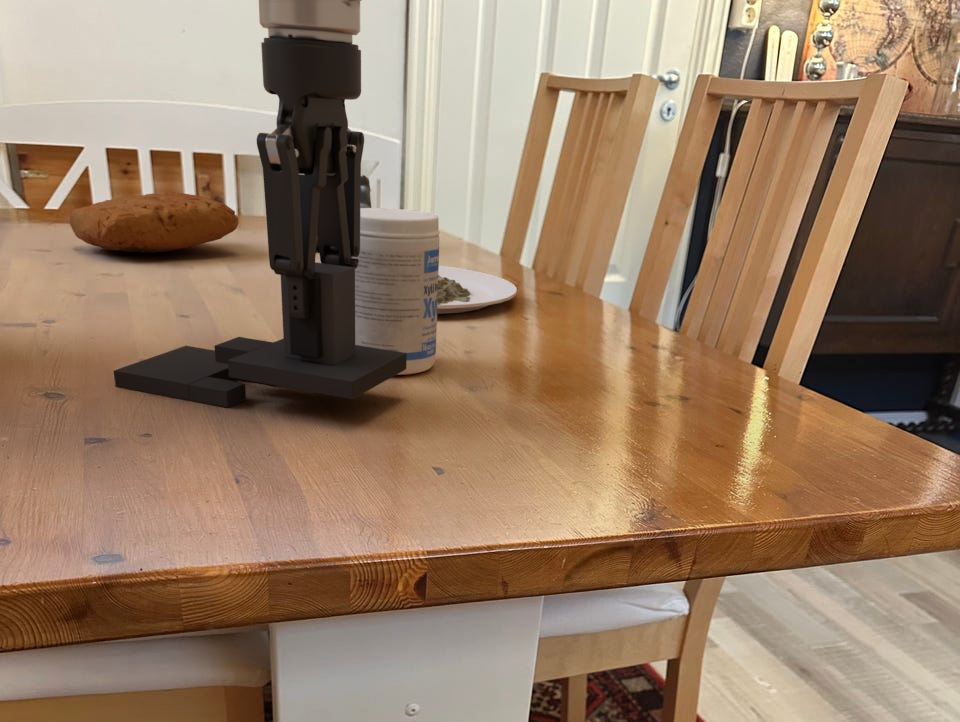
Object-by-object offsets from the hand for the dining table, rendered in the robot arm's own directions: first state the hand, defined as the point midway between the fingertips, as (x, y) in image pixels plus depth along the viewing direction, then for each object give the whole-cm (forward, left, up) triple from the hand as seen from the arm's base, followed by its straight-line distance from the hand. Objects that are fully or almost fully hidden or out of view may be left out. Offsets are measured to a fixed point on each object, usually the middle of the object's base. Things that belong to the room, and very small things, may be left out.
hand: (319, 349), depth 83 cm
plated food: (-13, +49, -5) cm, 52 cm away
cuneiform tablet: (-58, +54, -5) cm, 80 cm away
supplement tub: (0, +15, -5) cm, 16 cm away
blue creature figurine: (-40, +78, -5) cm, 88 cm away
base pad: (-12, 0, -5) cm, 13 cm away
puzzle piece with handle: (-2, 0, -2) cm, 3 cm away
